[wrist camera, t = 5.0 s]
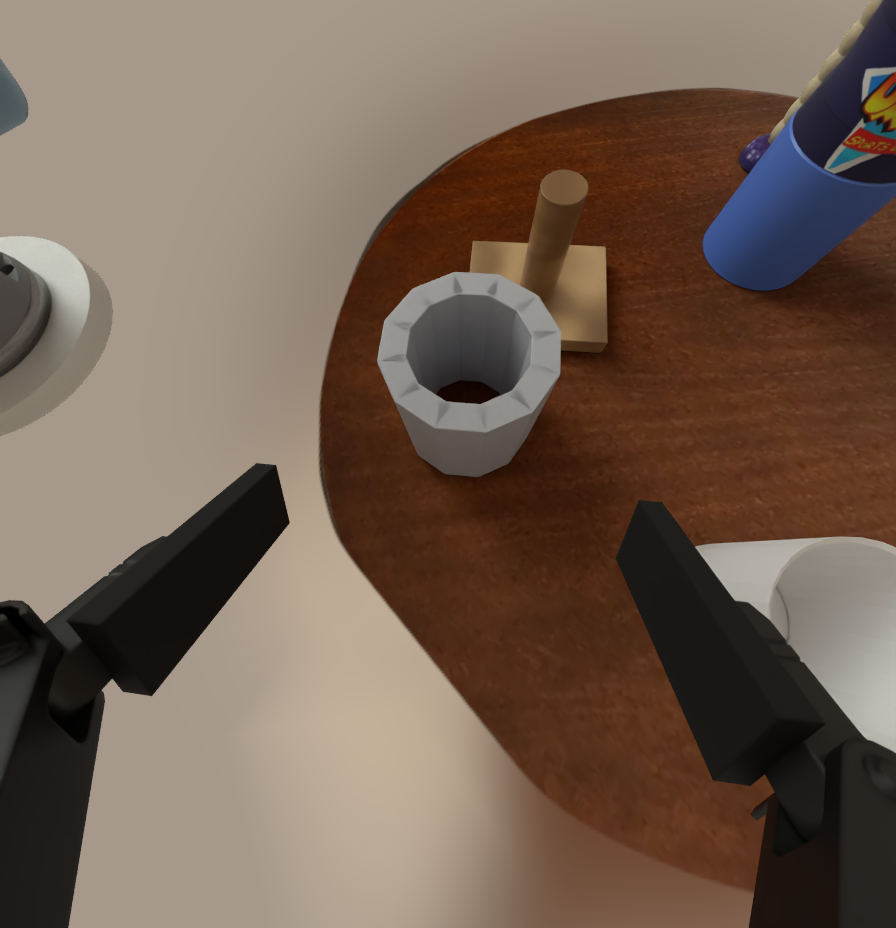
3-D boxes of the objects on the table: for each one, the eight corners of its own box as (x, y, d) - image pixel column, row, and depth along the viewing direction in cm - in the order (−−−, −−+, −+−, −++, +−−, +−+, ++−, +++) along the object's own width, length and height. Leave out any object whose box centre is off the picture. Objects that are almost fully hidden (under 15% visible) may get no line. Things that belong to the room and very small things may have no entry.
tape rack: (462, 344, 30) (462, 244, 21) (472, 254, 33) (476, 129, 23) (600, 353, 30) (667, 254, 20) (599, 260, 32) (658, 133, 22)
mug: (627, 595, 24) (723, 617, 15) (717, 519, 25) (856, 498, 16) (763, 759, 21) (980, 905, 12) (858, 665, 23) (1119, 737, 14)
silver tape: (399, 470, 28) (365, 422, 18) (415, 360, 30) (393, 268, 20) (524, 481, 27) (559, 439, 17) (530, 368, 29) (562, 277, 20)
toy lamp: (795, 173, 34) (1095, -173, 18) (754, 188, 34) (1021, -150, 18) (766, 142, 35) (1021, -208, 19) (726, 156, 35) (951, -187, 19)
